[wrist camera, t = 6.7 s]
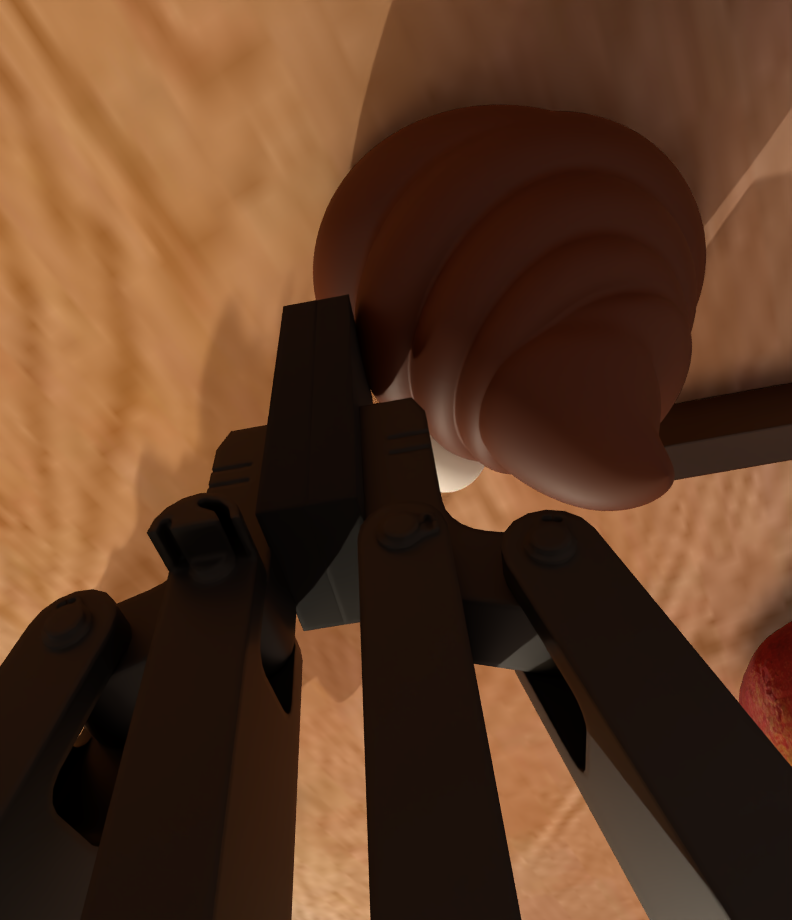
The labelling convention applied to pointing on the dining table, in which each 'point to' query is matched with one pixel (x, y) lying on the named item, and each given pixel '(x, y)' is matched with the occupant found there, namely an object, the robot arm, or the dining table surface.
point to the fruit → (771, 689)
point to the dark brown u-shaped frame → (729, 431)
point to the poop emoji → (524, 294)
